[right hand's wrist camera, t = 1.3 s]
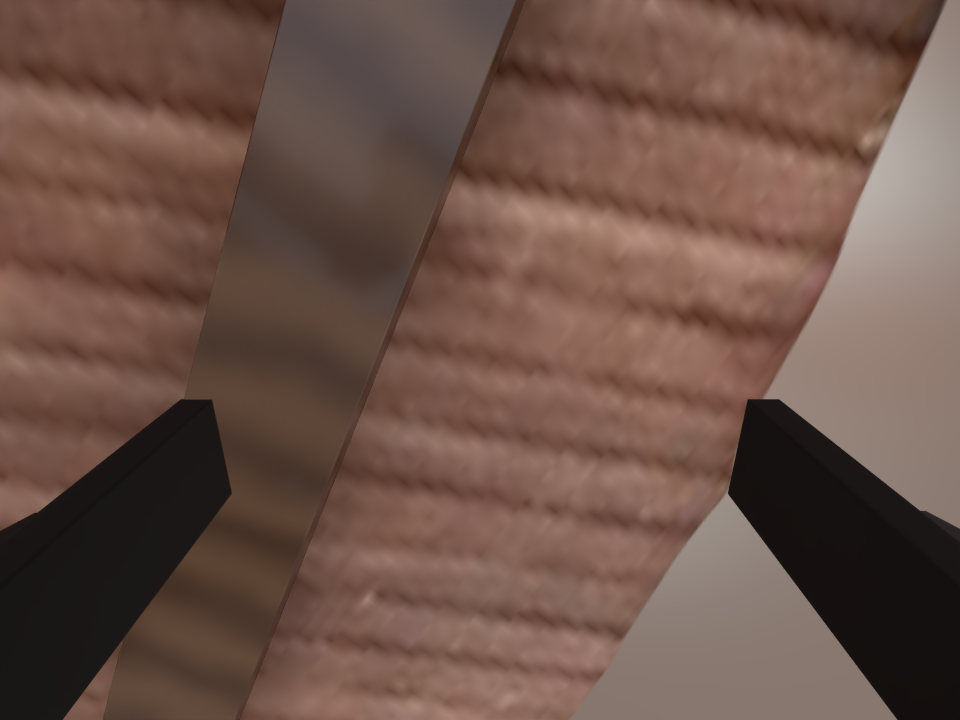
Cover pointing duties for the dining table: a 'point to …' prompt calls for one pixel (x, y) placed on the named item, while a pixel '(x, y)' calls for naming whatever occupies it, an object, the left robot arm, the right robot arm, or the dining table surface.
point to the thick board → (307, 313)
